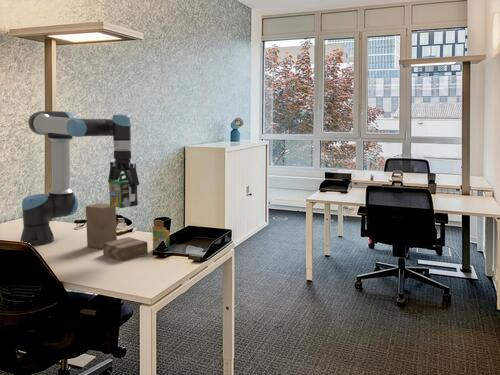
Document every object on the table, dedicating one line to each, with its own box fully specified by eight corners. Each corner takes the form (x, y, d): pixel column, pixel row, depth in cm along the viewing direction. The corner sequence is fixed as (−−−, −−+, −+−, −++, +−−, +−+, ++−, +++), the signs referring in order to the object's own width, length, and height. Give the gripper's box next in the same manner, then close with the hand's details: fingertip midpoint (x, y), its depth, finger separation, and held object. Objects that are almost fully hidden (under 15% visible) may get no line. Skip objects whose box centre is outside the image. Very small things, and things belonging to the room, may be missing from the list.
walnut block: (103, 255, 207) (102, 242, 207) (128, 249, 218) (128, 237, 217) (122, 261, 199) (121, 248, 198) (147, 254, 210) (147, 242, 209)
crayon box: (169, 250, 216) (169, 226, 214) (166, 251, 213) (166, 227, 212) (156, 248, 218) (155, 224, 217) (152, 250, 216) (152, 226, 214)
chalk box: (126, 203, 212) (125, 171, 209) (138, 205, 206) (137, 173, 204) (108, 205, 204) (107, 173, 202) (121, 208, 199) (120, 174, 197)
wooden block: (103, 249, 216) (101, 208, 213) (86, 246, 220) (85, 206, 217) (117, 244, 225) (116, 204, 222) (101, 242, 229) (100, 202, 226)
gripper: (98, 149, 204) (100, 198, 207) (134, 151, 193) (135, 203, 196) (111, 148, 210) (112, 196, 214) (147, 150, 199) (148, 201, 202)
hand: (123, 200), depth 205 cm, fingers closed on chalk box, 9 cm apart
